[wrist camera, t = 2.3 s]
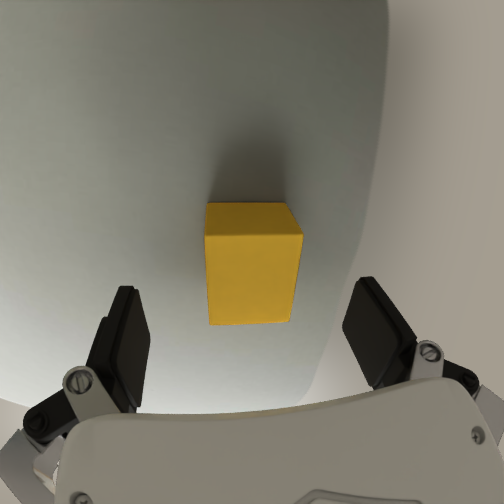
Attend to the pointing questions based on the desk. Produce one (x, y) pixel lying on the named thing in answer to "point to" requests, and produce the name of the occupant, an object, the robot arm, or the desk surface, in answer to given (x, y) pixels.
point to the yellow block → (251, 262)
